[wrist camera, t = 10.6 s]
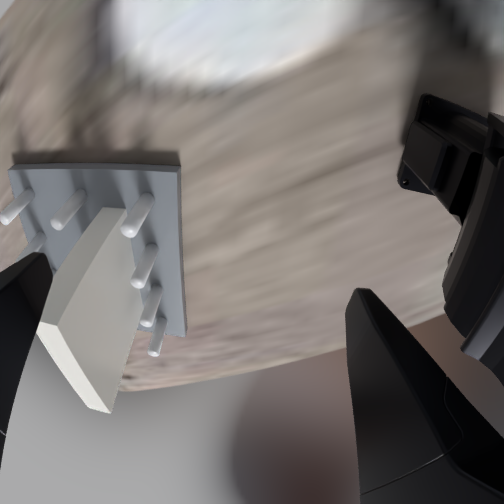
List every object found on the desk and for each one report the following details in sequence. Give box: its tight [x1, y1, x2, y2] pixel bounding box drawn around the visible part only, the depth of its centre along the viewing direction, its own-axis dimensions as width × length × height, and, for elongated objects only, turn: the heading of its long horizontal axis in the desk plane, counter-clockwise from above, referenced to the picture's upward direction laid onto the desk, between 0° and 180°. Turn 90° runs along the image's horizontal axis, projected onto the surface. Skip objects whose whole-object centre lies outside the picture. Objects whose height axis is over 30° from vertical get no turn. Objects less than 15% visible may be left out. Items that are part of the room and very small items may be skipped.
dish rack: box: [0, 163, 187, 357], centre depth 22 cm, size 14×16×4 cm
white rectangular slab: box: [36, 207, 143, 414], centre depth 19 cm, size 2×10×10 cm, turn 174°
